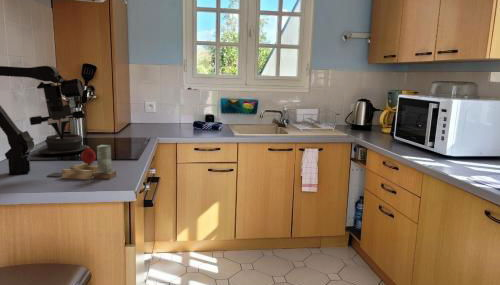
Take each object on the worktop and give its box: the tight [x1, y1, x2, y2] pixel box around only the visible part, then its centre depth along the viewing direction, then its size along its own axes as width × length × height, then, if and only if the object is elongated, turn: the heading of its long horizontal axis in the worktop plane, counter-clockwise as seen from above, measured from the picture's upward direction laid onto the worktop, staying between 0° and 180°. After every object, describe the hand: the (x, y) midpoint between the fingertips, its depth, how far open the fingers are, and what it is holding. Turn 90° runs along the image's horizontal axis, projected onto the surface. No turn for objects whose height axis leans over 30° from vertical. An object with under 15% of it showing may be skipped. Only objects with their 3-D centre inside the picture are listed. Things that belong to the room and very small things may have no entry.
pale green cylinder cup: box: [92, 144, 117, 180], centre depth 144 cm, size 7×5×12 cm
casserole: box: [37, 133, 90, 156], centre depth 189 cm, size 25×19×8 cm
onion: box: [80, 146, 97, 166], centre depth 164 cm, size 6×6×8 cm
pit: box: [46, 172, 62, 178], centre depth 145 cm, size 5×5×1 cm
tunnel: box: [61, 162, 98, 180], centre depth 145 cm, size 11×8×4 cm
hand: (61, 139), depth 149 cm, fingers closed
